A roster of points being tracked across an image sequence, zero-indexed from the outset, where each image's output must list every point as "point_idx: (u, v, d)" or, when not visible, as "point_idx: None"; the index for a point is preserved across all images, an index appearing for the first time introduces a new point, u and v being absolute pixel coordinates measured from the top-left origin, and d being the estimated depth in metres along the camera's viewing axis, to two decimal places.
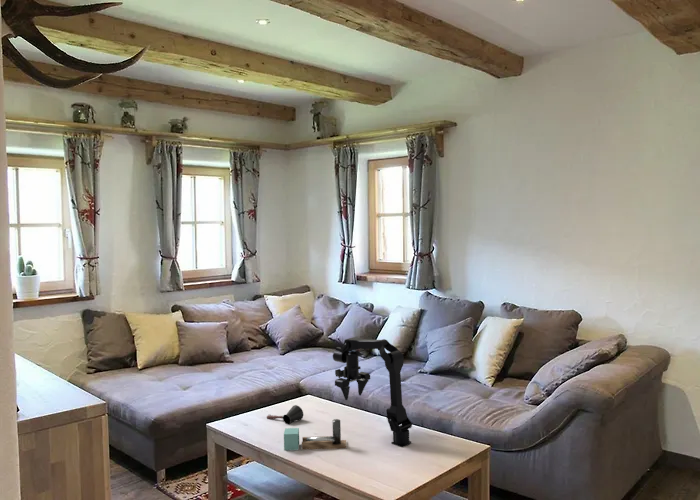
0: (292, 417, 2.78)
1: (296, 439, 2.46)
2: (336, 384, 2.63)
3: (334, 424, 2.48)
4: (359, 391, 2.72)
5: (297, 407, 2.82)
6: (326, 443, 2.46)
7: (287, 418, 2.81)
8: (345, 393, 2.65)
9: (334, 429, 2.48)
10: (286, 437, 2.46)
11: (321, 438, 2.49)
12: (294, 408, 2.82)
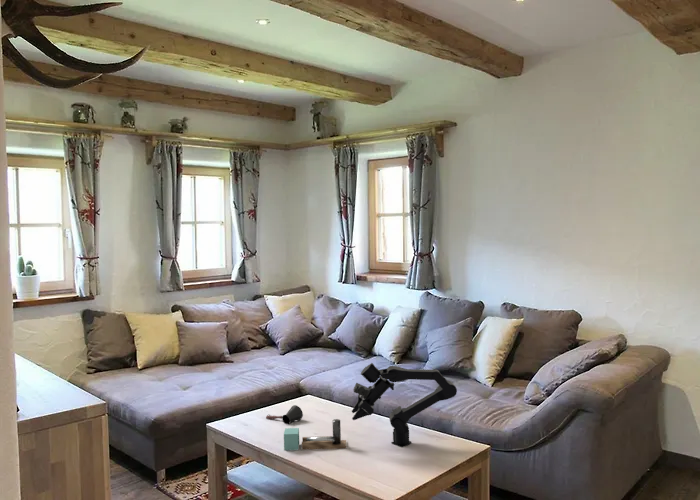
0: (291, 417, 2.78)
1: (296, 439, 2.46)
2: (363, 407, 2.40)
3: (334, 424, 2.48)
4: (355, 409, 2.54)
5: (296, 407, 2.82)
6: (326, 443, 2.46)
7: (286, 418, 2.81)
8: (359, 415, 2.44)
9: (334, 429, 2.48)
10: (286, 437, 2.46)
11: (321, 438, 2.49)
12: (293, 408, 2.82)
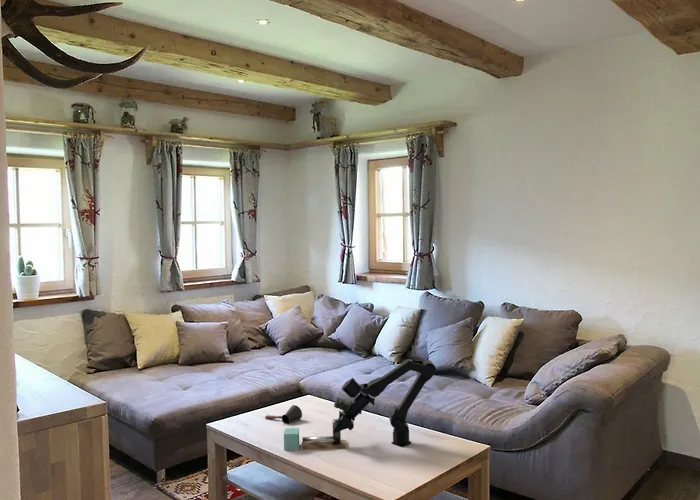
0: (291, 417, 2.78)
1: (296, 439, 2.46)
2: (344, 422, 2.40)
3: (334, 424, 2.48)
4: None
5: (296, 407, 2.83)
6: (326, 443, 2.46)
7: (286, 418, 2.81)
8: (339, 428, 2.46)
9: None
10: (286, 437, 2.46)
11: (321, 438, 2.49)
12: (293, 408, 2.82)
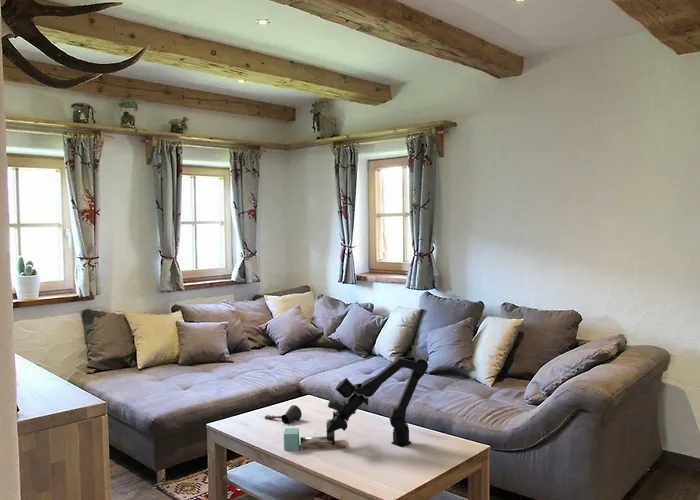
0: (291, 417, 2.79)
1: (296, 439, 2.46)
2: (337, 422, 2.40)
3: (328, 424, 2.48)
4: None
5: (295, 407, 2.83)
6: (326, 443, 2.46)
7: (285, 418, 2.81)
8: (333, 428, 2.46)
9: None
10: (286, 437, 2.46)
11: (315, 438, 2.49)
12: (292, 408, 2.82)
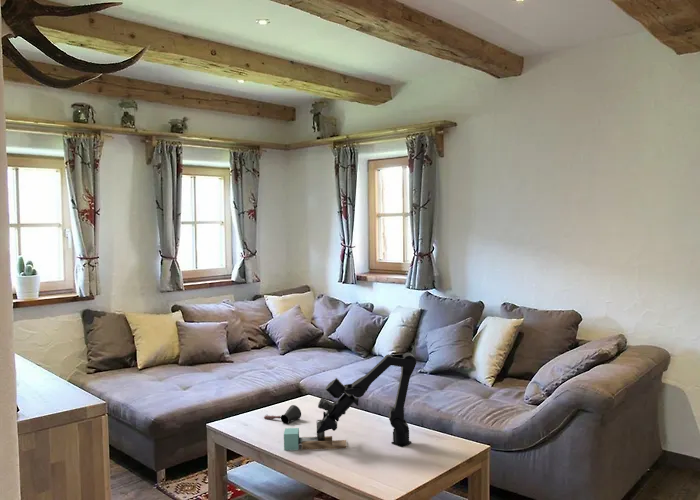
0: (290, 417, 2.79)
1: (296, 439, 2.46)
2: (327, 423, 2.40)
3: (318, 425, 2.48)
4: None
5: (295, 407, 2.83)
6: (326, 443, 2.46)
7: (285, 418, 2.81)
8: (323, 429, 2.46)
9: None
10: (286, 437, 2.46)
11: (305, 439, 2.48)
12: (292, 408, 2.82)
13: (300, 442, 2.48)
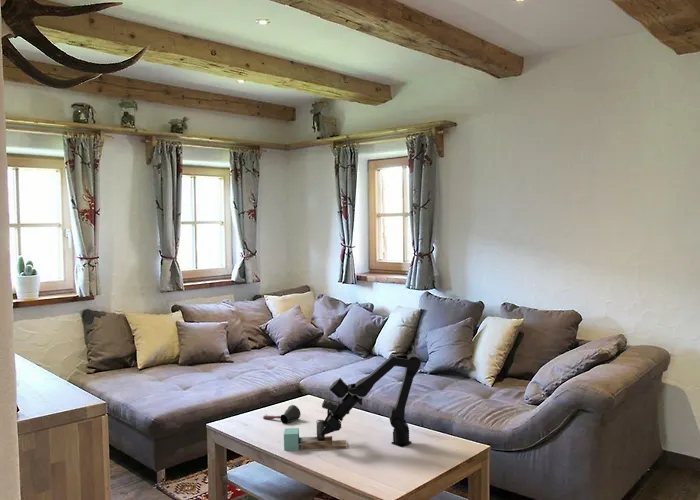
0: (290, 417, 2.79)
1: (296, 439, 2.46)
2: (331, 423, 2.40)
3: (318, 425, 2.48)
4: (324, 424, 2.54)
5: (294, 407, 2.83)
6: (326, 443, 2.46)
7: (284, 418, 2.82)
8: (327, 431, 2.44)
9: (318, 430, 2.48)
10: (286, 437, 2.46)
11: (305, 439, 2.48)
12: (291, 408, 2.82)
13: (300, 442, 2.48)
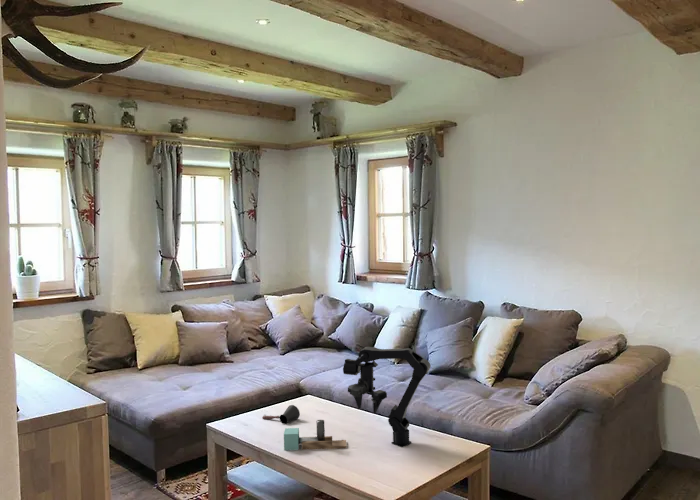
0: (289, 417, 2.79)
1: (296, 439, 2.46)
2: (380, 398, 2.47)
3: (318, 425, 2.48)
4: (359, 404, 2.58)
5: (293, 407, 2.83)
6: (326, 443, 2.46)
7: (284, 418, 2.82)
8: (377, 405, 2.51)
9: (318, 430, 2.48)
10: (286, 437, 2.46)
11: (305, 439, 2.48)
12: (290, 408, 2.83)
13: (300, 442, 2.48)
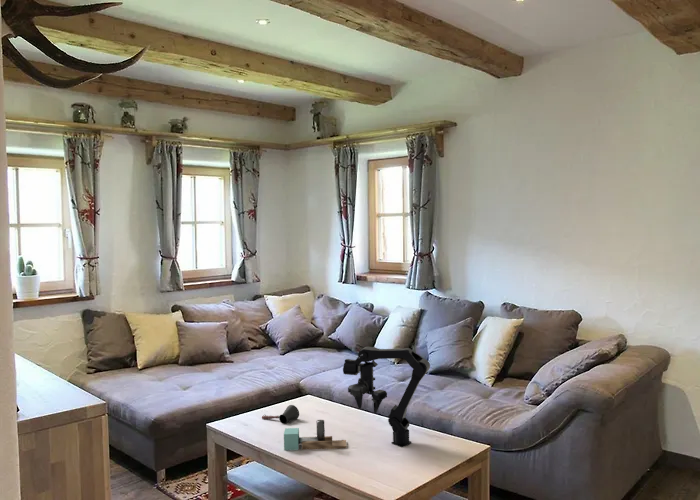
0: (288, 417, 2.79)
1: (296, 439, 2.46)
2: (381, 397, 2.47)
3: (318, 425, 2.48)
4: (359, 404, 2.58)
5: (293, 407, 2.83)
6: (326, 443, 2.46)
7: (283, 418, 2.82)
8: (378, 405, 2.51)
9: (318, 430, 2.48)
10: (286, 437, 2.46)
11: (305, 439, 2.48)
12: (290, 408, 2.83)
13: (300, 442, 2.48)
